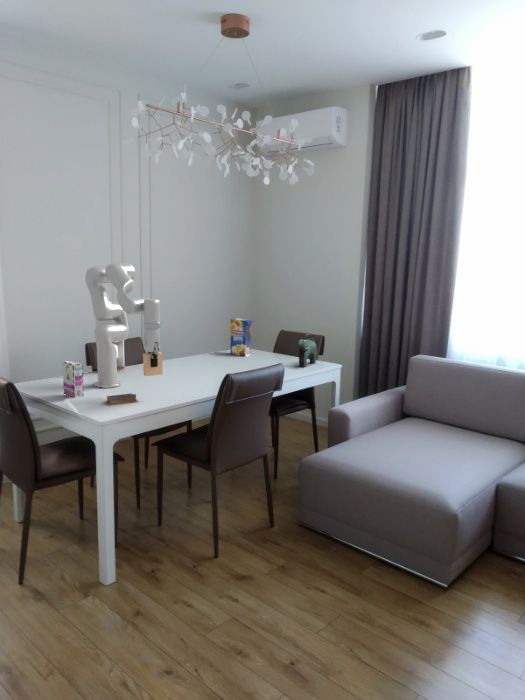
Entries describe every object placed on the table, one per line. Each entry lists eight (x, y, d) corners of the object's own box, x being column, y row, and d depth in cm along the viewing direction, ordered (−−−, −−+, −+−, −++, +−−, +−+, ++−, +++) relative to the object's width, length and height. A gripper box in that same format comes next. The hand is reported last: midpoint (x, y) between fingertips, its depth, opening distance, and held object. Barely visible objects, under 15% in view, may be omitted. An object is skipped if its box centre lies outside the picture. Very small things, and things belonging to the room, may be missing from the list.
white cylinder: (96, 372, 307) (95, 310, 301) (106, 368, 317) (104, 308, 311) (115, 373, 304) (113, 311, 298) (124, 370, 315) (123, 309, 309)
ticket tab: (143, 375, 251) (142, 353, 249) (160, 373, 255) (159, 352, 253) (145, 376, 248) (145, 354, 246) (162, 374, 252) (162, 353, 250)
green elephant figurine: (304, 368, 331) (305, 335, 327) (294, 367, 334) (295, 334, 331) (318, 363, 347) (319, 332, 344) (309, 362, 351) (310, 331, 347)
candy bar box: (84, 398, 253) (83, 363, 250) (74, 400, 250) (72, 364, 247) (73, 393, 261) (72, 359, 258) (63, 395, 257) (61, 361, 255)
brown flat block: (103, 403, 245) (103, 394, 244) (134, 399, 252) (133, 390, 251) (108, 408, 238) (108, 398, 237) (139, 404, 245) (139, 394, 244)
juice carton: (251, 355, 371) (251, 319, 366) (245, 356, 364) (246, 320, 360) (236, 353, 376) (236, 318, 372) (230, 354, 370) (230, 319, 366)
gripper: (138, 324, 253) (139, 363, 256) (150, 328, 239) (151, 370, 242) (153, 323, 256) (154, 362, 259) (166, 327, 243) (167, 368, 246)
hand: (152, 365), depth 251 cm, fingers closed on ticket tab, 3 cm apart
